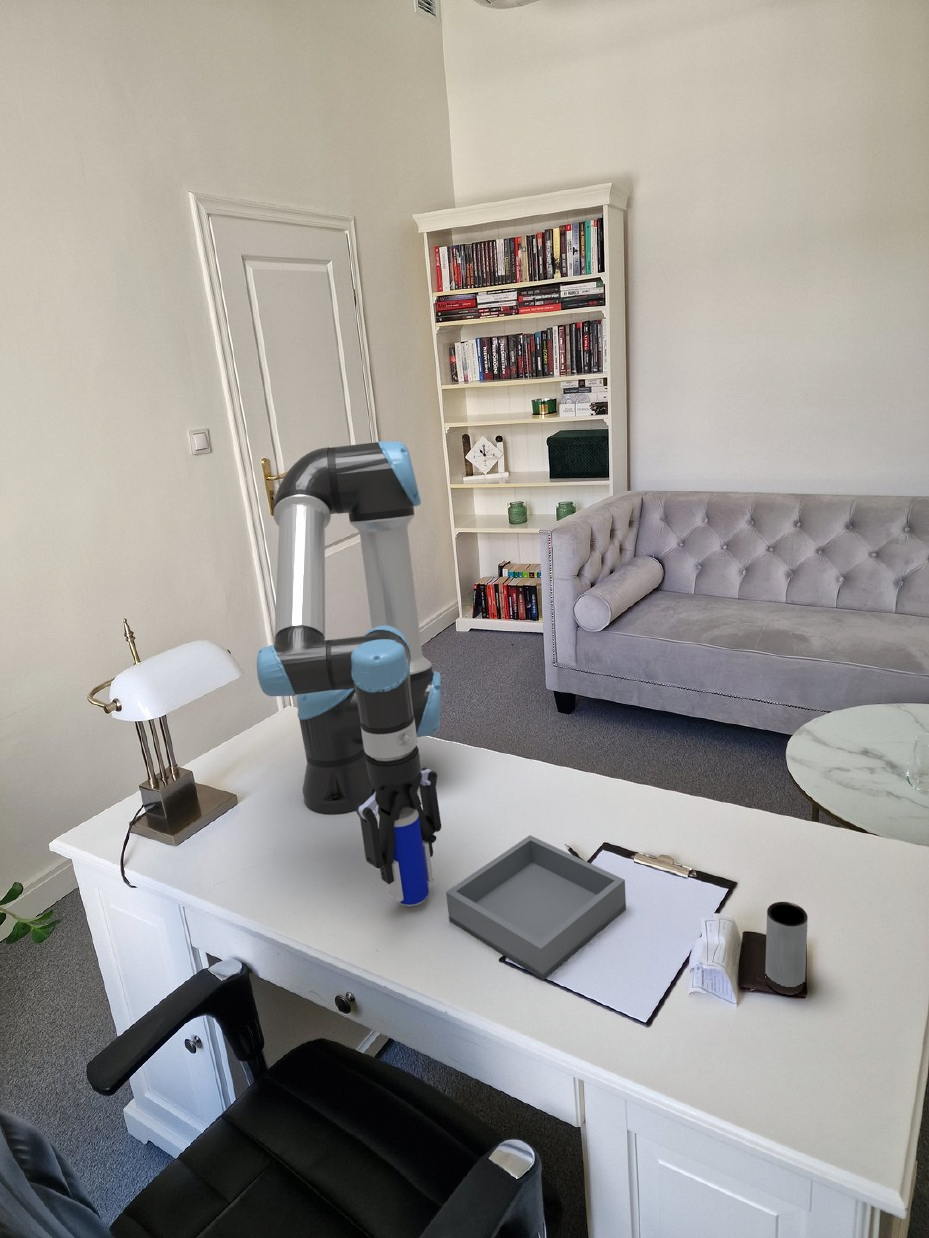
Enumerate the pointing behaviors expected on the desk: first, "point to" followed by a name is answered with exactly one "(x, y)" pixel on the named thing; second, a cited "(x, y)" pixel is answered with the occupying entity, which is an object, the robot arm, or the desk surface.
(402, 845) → the beverage can
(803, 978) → the grey cylinder
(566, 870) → the bin
